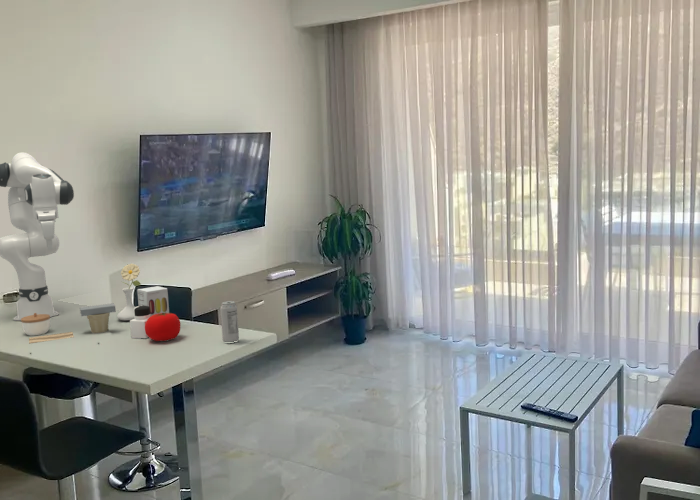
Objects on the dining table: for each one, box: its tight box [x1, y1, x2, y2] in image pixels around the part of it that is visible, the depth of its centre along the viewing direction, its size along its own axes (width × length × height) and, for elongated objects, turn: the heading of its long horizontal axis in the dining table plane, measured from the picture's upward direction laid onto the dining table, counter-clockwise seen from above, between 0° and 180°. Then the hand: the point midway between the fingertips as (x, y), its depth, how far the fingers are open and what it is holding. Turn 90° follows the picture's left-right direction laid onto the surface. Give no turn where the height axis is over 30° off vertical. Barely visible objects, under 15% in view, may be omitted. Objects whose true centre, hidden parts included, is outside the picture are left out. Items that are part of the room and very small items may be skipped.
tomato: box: [145, 312, 181, 342], centre depth 256 cm, size 14×13×10 cm
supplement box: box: [137, 285, 170, 317], centre depth 273 cm, size 10×9×17 cm
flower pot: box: [86, 312, 111, 334], centre depth 270 cm, size 9×9×9 cm
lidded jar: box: [20, 313, 51, 337], centre depth 271 cm, size 11×11×9 cm
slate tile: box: [79, 302, 117, 317], centre depth 269 cm, size 6×13×2 cm, turn 116°
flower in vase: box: [116, 262, 142, 321], centre depth 291 cm, size 13×11×25 cm
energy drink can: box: [219, 300, 240, 342], centre depth 247 cm, size 6×6×15 cm
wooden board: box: [28, 331, 74, 344], centre depth 263 cm, size 10×16×1 cm, turn 116°
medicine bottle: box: [129, 305, 150, 339], centre depth 262 cm, size 7×7×12 cm
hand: (49, 248), depth 270 cm, fingers open, 8 cm apart
